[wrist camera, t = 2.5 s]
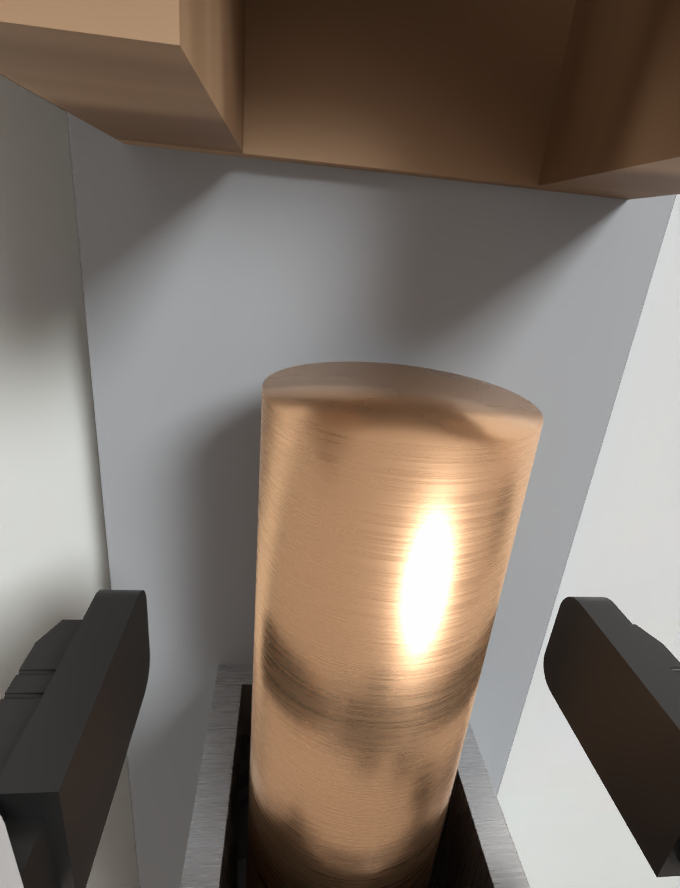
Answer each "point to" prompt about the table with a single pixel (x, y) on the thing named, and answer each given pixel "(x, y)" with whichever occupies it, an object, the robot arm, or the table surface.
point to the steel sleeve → (227, 800)
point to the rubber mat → (314, 341)
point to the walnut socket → (374, 84)
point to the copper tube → (373, 610)
